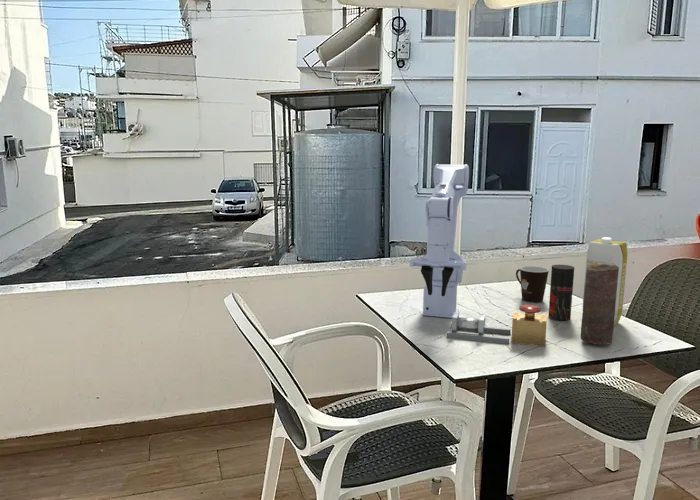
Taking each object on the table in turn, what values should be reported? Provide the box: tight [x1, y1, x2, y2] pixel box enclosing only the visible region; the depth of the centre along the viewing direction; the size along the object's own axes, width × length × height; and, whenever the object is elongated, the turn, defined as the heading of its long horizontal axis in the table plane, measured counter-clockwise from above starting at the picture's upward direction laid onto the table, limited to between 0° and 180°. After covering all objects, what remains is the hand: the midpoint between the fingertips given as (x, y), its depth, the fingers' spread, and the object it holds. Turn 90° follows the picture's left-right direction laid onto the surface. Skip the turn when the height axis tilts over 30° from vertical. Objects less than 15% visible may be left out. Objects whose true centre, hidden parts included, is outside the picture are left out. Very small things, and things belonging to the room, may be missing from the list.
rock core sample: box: [580, 264, 619, 346], centre depth 139 cm, size 8×7×20 cm
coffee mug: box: [515, 265, 550, 304], centre depth 180 cm, size 12×9×10 cm
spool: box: [450, 312, 486, 335], centre depth 147 cm, size 8×5×5 cm, turn 72°
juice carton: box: [582, 236, 628, 326], centre depth 155 cm, size 9×8×24 cm
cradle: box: [446, 322, 512, 345], centre depth 147 cm, size 16×8×1 cm, turn 72°
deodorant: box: [547, 264, 575, 322], centre depth 160 cm, size 6×6×15 cm
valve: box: [510, 304, 548, 347], centre depth 142 cm, size 8×6×9 cm
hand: (436, 294), depth 148 cm, fingers open, 3 cm apart
